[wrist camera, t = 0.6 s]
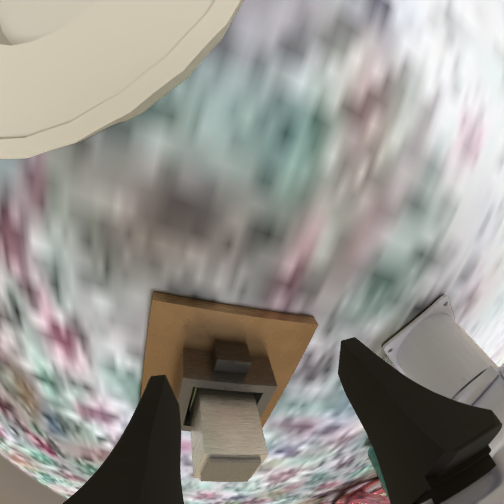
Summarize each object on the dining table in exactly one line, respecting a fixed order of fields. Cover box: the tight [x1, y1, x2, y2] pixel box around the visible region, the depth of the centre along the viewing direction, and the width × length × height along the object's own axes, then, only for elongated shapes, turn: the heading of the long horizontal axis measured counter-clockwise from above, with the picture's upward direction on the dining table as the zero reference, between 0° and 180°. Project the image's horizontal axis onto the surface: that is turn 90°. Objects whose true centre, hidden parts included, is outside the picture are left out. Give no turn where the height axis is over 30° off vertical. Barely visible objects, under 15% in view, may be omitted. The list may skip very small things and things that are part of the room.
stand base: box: [141, 292, 318, 431], centre depth 23 cm, size 14×12×4 cm
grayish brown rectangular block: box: [189, 387, 268, 482], centre depth 20 cm, size 4×4×8 cm
